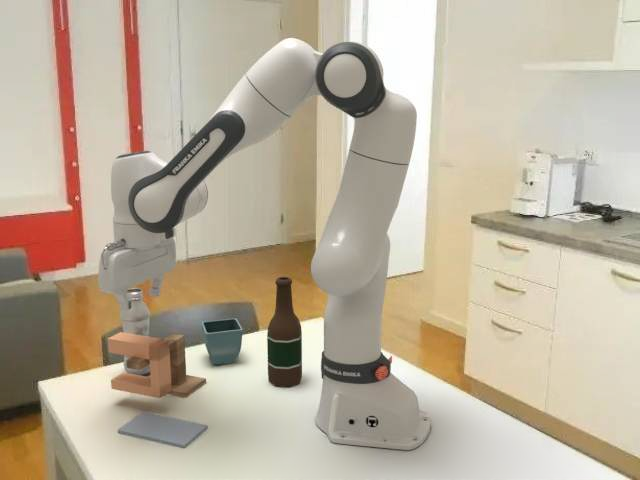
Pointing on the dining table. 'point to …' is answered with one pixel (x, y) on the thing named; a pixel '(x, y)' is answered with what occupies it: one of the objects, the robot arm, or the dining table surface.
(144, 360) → the brown wooden angular piece
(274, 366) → the beer bottle
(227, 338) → the flower pot
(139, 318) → the plastic bottle
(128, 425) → the felt mat
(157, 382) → the c link
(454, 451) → the dining table surface
